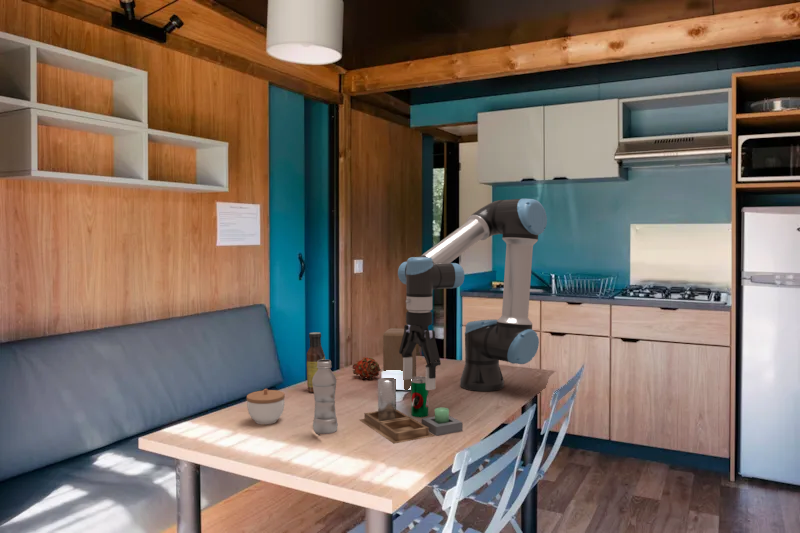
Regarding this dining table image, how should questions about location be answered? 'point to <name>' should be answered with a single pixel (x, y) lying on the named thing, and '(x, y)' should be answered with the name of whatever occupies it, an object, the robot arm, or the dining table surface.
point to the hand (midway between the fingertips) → (418, 384)
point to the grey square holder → (443, 426)
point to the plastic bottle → (324, 399)
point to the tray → (397, 427)
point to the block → (396, 353)
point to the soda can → (419, 397)
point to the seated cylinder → (386, 399)
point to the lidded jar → (265, 406)
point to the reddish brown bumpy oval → (366, 368)
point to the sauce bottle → (313, 357)
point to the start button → (441, 415)
